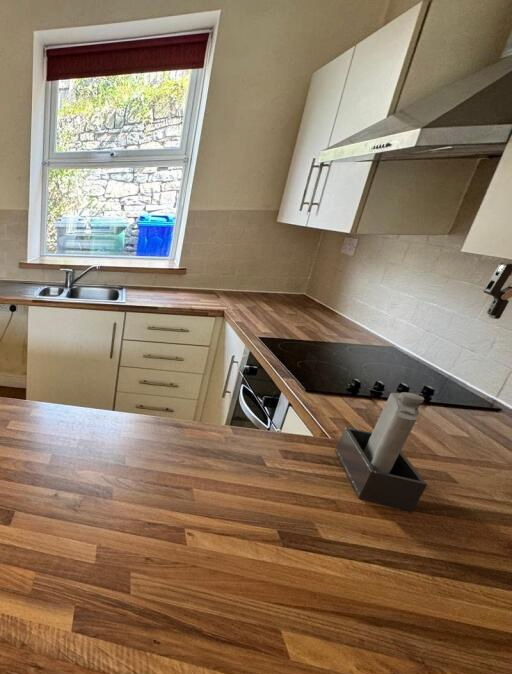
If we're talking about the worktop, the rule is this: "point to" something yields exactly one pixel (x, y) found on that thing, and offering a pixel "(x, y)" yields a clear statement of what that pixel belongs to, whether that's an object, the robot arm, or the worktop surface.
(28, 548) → the worktop surface
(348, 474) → the flask holder
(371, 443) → the hip flask
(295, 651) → the worktop surface
